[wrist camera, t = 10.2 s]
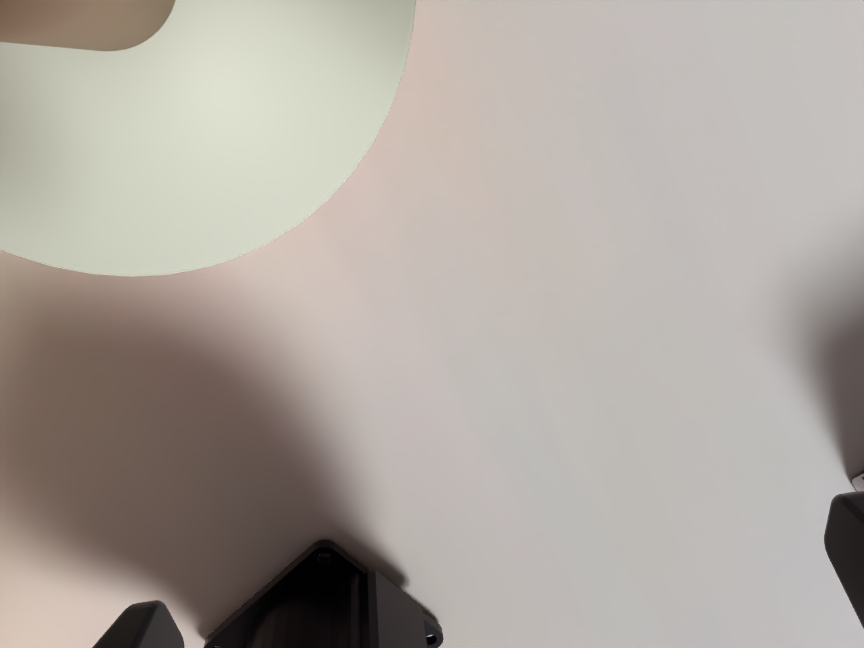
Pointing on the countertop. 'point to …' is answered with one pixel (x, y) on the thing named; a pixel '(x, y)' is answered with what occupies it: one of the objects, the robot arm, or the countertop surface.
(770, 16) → the countertop surface
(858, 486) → the medicine box
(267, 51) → the lid
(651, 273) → the countertop surface
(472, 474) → the countertop surface
